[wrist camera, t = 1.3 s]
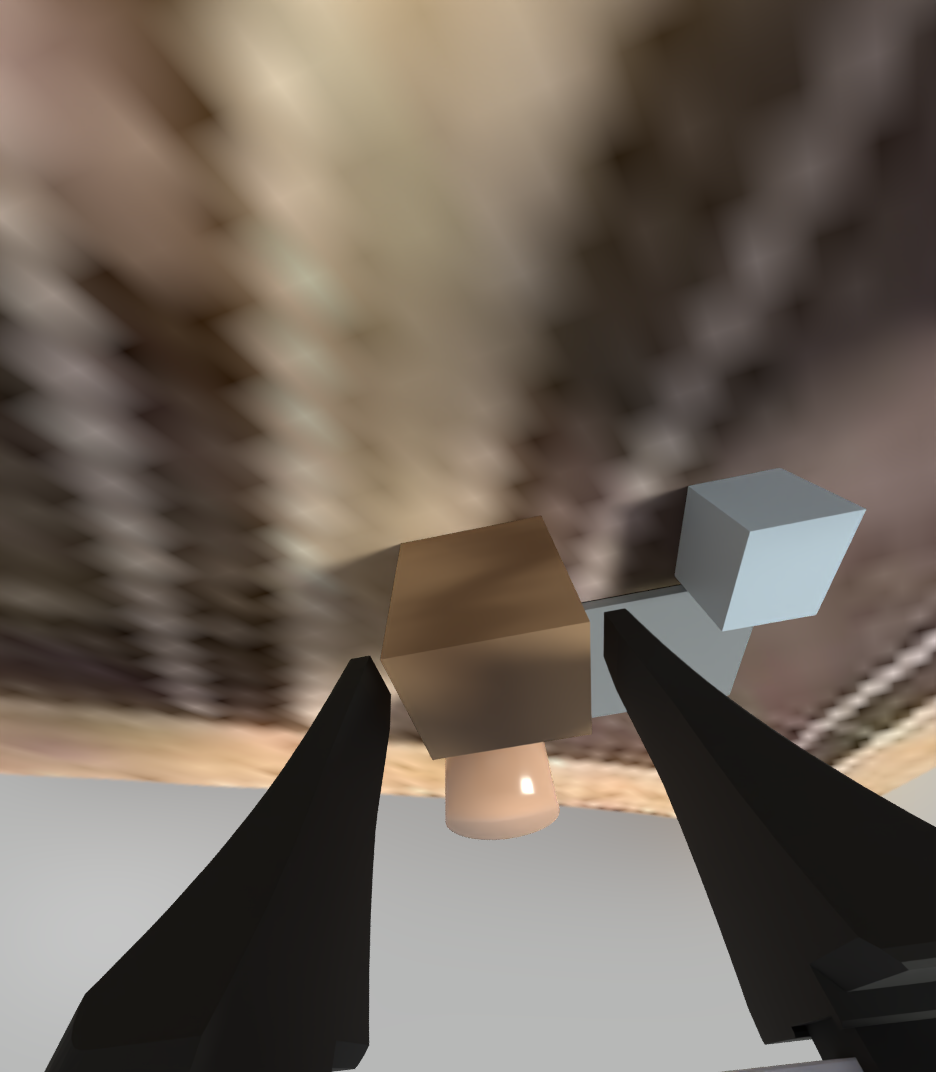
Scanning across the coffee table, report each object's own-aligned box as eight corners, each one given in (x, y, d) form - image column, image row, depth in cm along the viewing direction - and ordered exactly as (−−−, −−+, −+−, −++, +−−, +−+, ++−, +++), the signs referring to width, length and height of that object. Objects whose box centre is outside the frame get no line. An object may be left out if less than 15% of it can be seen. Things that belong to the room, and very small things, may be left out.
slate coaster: (762, 569, 14) (770, 576, 14) (724, 687, 19) (729, 694, 18) (562, 606, 15) (565, 613, 14) (570, 713, 19) (572, 720, 19)
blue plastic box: (777, 466, 12) (866, 509, 9) (749, 559, 14) (816, 614, 12) (686, 484, 12) (750, 531, 10) (673, 574, 14) (722, 631, 12)
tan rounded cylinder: (527, 663, 17) (556, 783, 12) (536, 714, 19) (562, 830, 15) (435, 679, 17) (433, 802, 13) (455, 728, 19) (458, 845, 15)
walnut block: (540, 514, 12) (589, 621, 8) (550, 615, 15) (591, 734, 11) (400, 542, 13) (380, 659, 9) (435, 636, 15) (432, 760, 11)
